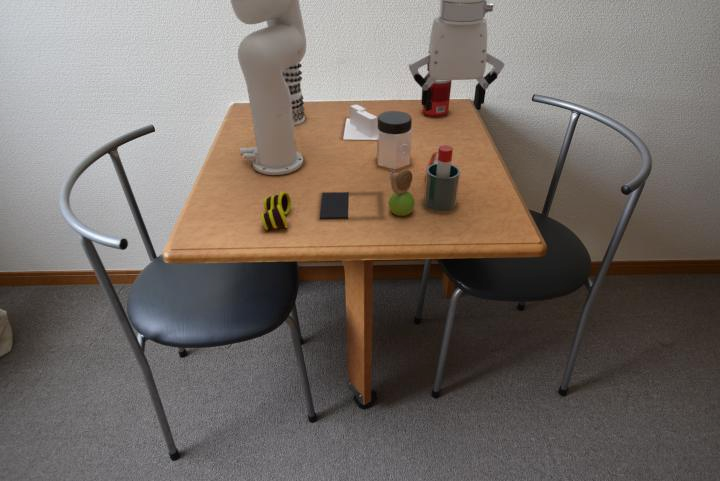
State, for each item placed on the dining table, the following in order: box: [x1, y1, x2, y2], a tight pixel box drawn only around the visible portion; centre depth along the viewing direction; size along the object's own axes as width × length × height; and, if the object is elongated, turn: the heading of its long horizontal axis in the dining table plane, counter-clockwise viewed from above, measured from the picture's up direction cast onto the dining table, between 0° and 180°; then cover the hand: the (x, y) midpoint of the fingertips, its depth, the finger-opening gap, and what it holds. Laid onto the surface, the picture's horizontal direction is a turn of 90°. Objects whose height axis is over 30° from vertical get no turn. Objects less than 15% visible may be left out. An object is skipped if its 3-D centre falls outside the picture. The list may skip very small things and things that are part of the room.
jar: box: [376, 110, 413, 170], centre depth 116 cm, size 9×8×12 cm
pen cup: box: [423, 163, 461, 212], centre depth 102 cm, size 7×7×8 cm
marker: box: [436, 144, 454, 178], centre depth 100 cm, size 3×3×13 cm
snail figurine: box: [388, 168, 416, 217], centre depth 97 cm, size 5×6×12 cm
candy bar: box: [424, 151, 438, 184], centre depth 114 cm, size 16×4×3 cm, turn 165°
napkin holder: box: [342, 103, 378, 141], centre depth 135 cm, size 15×11×6 cm
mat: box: [319, 191, 350, 220], centre depth 104 cm, size 13×10×1 cm
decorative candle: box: [282, 62, 306, 126], centre depth 135 cm, size 9×9×25 cm
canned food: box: [422, 80, 453, 118], centre depth 142 cm, size 8×8×11 cm
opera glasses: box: [260, 190, 292, 231], centre depth 99 cm, size 10×5×5 cm, turn 2°
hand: (451, 107), depth 91 cm, fingers open, 9 cm apart
